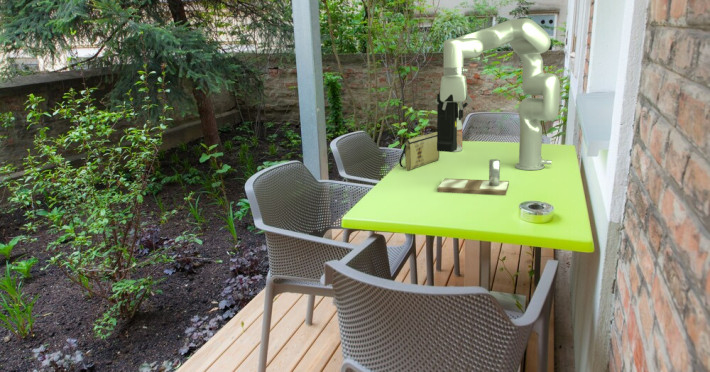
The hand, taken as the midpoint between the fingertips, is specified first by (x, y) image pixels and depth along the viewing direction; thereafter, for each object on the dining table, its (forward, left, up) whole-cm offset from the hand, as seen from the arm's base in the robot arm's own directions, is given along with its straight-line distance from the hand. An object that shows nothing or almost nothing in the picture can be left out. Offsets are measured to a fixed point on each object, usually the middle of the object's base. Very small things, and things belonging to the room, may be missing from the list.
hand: (453, 119), depth 196 cm
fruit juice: (+13, -76, -28) cm, 82 cm away
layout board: (-8, 0, -28) cm, 29 cm away
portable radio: (+2, 0, -13) cm, 13 cm away
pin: (-16, 0, -26) cm, 31 cm away
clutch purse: (+23, -38, -28) cm, 53 cm away
